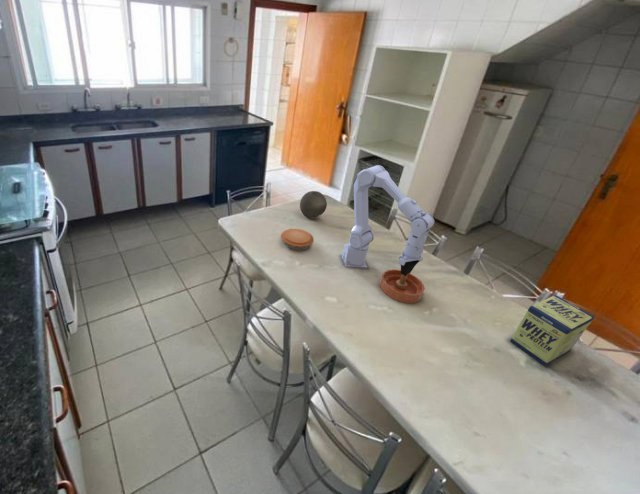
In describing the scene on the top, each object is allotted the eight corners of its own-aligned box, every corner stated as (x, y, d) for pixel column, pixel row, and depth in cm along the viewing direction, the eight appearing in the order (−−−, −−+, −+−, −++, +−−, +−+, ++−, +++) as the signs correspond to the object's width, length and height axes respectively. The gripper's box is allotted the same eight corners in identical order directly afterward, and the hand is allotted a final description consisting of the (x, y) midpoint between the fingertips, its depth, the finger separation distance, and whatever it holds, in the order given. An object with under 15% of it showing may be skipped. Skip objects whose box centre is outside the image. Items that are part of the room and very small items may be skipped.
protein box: (508, 341, 109) (529, 306, 102) (534, 327, 115) (555, 293, 108) (544, 367, 101) (569, 330, 94) (571, 351, 107) (596, 315, 100)
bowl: (387, 302, 123) (390, 293, 121) (374, 276, 137) (377, 268, 135) (428, 305, 123) (431, 296, 121) (411, 279, 136) (414, 270, 134)
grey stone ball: (298, 221, 176) (301, 196, 169) (298, 209, 189) (301, 185, 182) (324, 224, 174) (329, 199, 168) (323, 212, 187) (327, 188, 180)
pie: (317, 241, 159) (319, 232, 157) (305, 256, 147) (306, 247, 145) (288, 231, 166) (289, 223, 164) (274, 245, 154) (275, 236, 152)
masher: (397, 288, 129) (405, 267, 124) (394, 282, 133) (401, 261, 128) (408, 289, 129) (415, 268, 124) (403, 282, 132) (411, 261, 128)
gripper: (416, 255, 115) (405, 285, 121) (435, 243, 123) (424, 272, 129) (397, 246, 120) (387, 275, 126) (416, 234, 128) (407, 262, 134)
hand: (405, 273), depth 128 cm, fingers closed on masher, 2 cm apart
